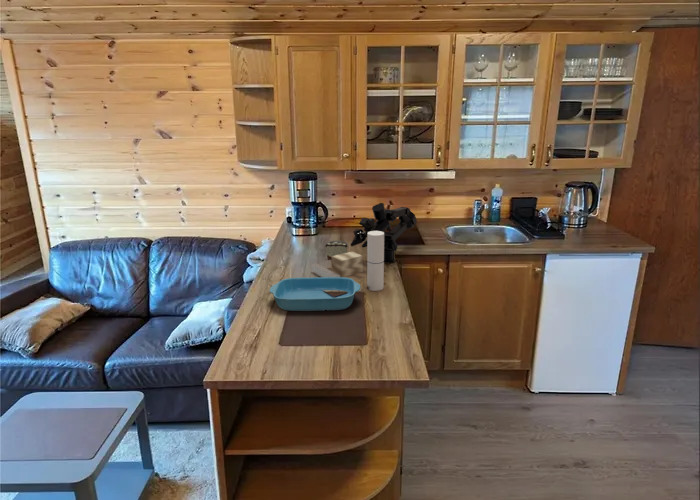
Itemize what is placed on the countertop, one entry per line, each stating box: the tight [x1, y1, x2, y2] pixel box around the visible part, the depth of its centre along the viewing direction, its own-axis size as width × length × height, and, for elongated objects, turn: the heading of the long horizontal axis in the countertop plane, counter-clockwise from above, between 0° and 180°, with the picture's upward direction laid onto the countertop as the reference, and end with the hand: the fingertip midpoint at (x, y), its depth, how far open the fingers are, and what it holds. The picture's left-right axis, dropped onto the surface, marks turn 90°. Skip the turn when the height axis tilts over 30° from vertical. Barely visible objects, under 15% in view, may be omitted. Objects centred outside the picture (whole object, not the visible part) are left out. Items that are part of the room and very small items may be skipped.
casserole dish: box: [269, 276, 361, 312], centre depth 192 cm, size 37×22×7 cm, turn 90°
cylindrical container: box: [366, 231, 385, 292], centre depth 203 cm, size 7×7×25 cm
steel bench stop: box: [311, 262, 340, 277], centre depth 214 cm, size 2×20×4 cm, turn 36°
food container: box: [324, 239, 350, 261], centre depth 240 cm, size 12×6×10 cm, turn 84°
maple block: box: [331, 251, 364, 277], centre depth 220 cm, size 12×8×8 cm, turn 126°
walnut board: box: [311, 261, 386, 281], centre depth 222 cm, size 29×20×2 cm
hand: (356, 246), depth 221 cm, fingers open, 9 cm apart
